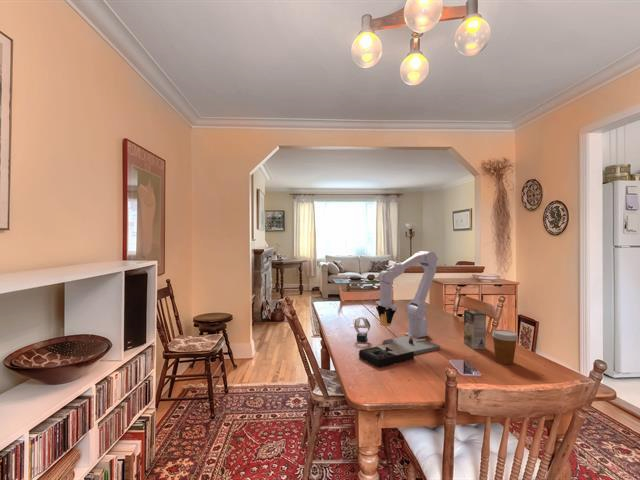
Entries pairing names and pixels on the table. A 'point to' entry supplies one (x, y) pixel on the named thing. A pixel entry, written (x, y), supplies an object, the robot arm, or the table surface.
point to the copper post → (411, 339)
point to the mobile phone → (465, 368)
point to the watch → (362, 335)
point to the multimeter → (386, 355)
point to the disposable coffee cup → (504, 345)
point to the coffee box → (474, 329)
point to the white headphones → (358, 324)
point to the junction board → (416, 347)
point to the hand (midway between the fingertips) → (385, 321)
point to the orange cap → (384, 320)
